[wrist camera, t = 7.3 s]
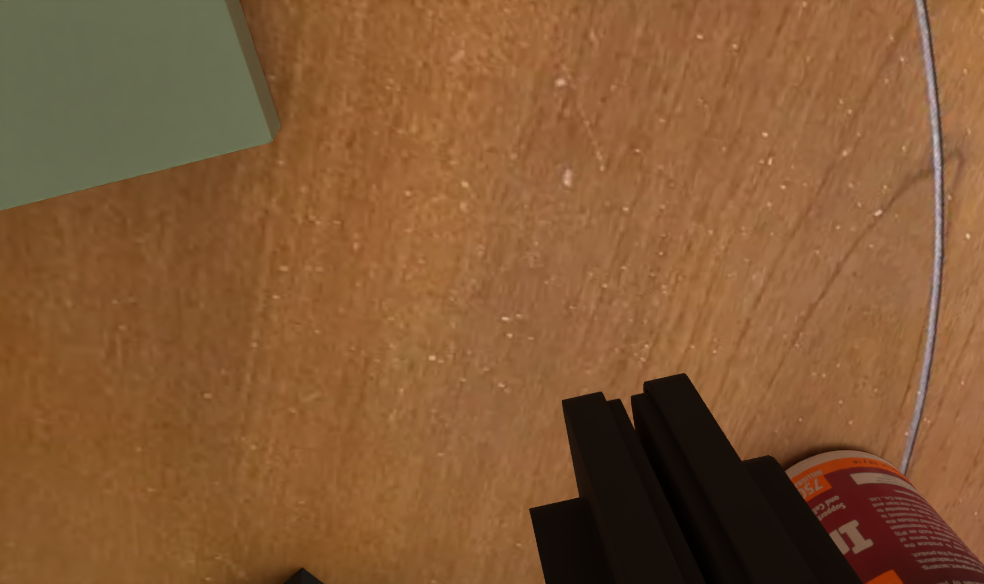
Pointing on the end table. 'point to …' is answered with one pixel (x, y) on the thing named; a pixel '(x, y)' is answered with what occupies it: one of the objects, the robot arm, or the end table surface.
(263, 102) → the scale
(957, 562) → the pill bottle
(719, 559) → the robot arm
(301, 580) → the watch
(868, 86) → the end table surface
